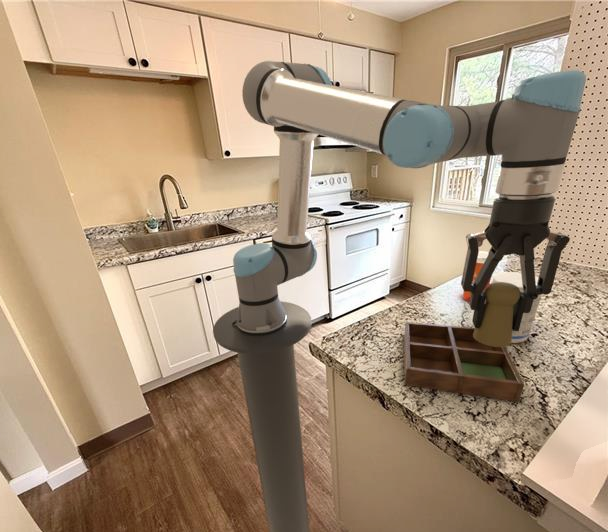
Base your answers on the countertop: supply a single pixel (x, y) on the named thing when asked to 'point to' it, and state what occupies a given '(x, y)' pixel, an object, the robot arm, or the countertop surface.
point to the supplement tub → (527, 317)
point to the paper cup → (480, 261)
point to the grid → (458, 362)
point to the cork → (497, 315)
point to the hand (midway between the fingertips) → (494, 325)
